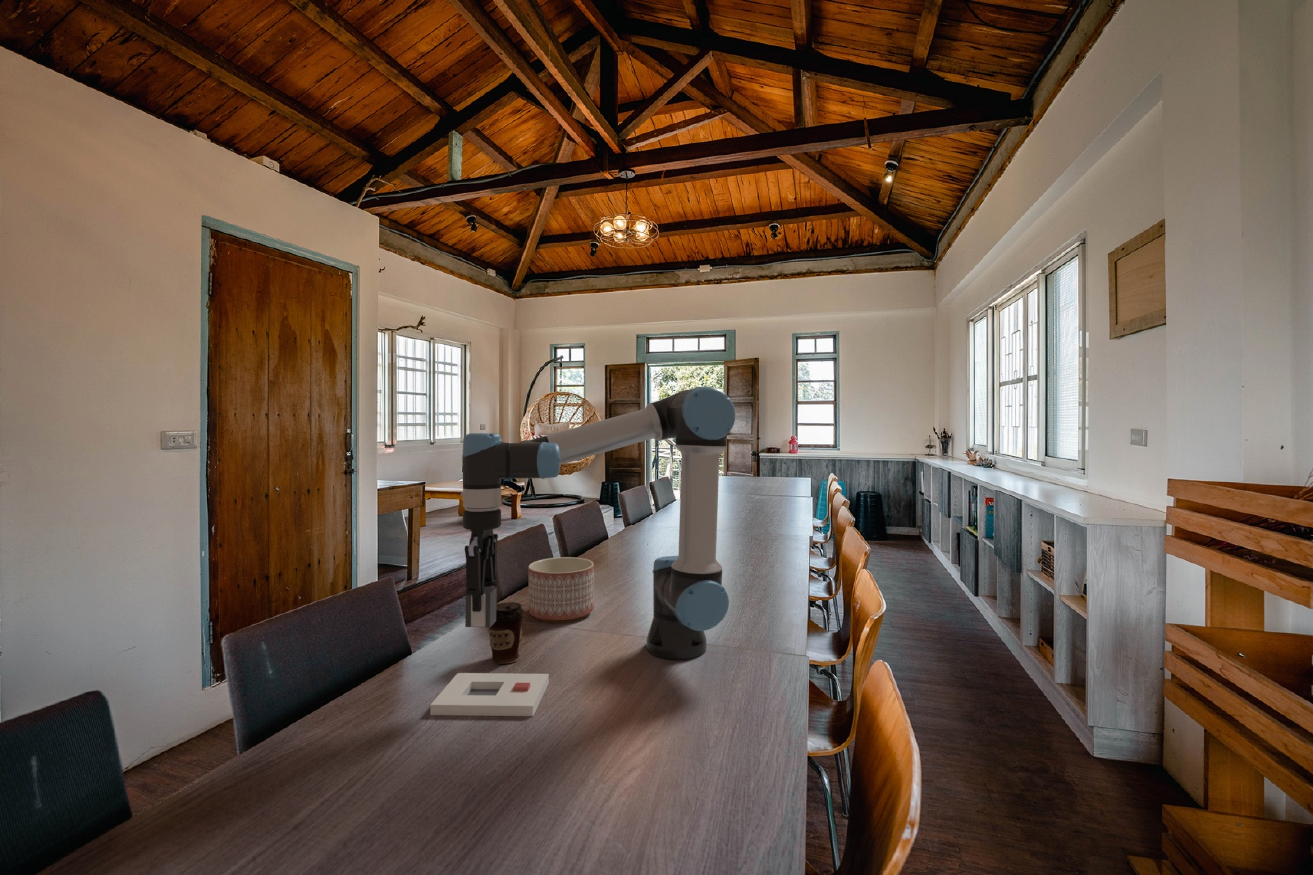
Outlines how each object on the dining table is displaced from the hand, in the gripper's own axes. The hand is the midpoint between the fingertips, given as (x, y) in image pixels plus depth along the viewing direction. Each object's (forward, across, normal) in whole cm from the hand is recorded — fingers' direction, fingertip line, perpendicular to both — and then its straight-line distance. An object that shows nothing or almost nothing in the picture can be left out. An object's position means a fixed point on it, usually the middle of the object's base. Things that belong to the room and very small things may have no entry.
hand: (482, 621), depth 115 cm
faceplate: (+16, 0, +2) cm, 16 cm away
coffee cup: (+16, -19, -1) cm, 25 cm away
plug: (0, 0, 0) cm, 1 cm away
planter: (+16, -52, +6) cm, 55 cm away
